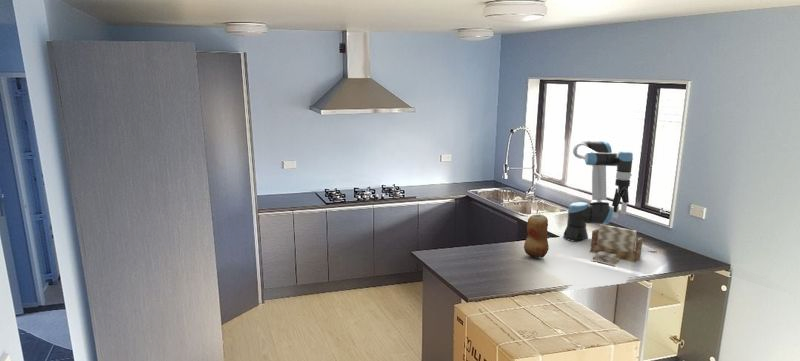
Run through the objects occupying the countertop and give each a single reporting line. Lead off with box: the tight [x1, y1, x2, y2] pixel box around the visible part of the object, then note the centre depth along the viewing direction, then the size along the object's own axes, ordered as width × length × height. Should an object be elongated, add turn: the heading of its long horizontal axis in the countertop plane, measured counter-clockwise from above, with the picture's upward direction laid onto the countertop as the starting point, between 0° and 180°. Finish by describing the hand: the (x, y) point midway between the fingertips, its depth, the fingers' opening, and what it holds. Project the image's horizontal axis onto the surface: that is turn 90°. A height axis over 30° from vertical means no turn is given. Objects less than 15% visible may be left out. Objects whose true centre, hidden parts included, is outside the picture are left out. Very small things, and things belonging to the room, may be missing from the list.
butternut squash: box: [523, 213, 550, 260], centre depth 287 cm, size 14×13×25 cm
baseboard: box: [635, 241, 658, 253], centre depth 319 cm, size 31×3×12 cm
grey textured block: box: [592, 255, 620, 268], centre depth 284 cm, size 12×7×3 cm, turn 48°
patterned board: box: [597, 224, 637, 254], centre depth 293 cm, size 20×2×16 cm, turn 48°
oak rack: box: [588, 228, 643, 263], centre depth 293 cm, size 26×12×14 cm, turn 48°
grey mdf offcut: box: [595, 251, 617, 262], centre depth 283 cm, size 9×6×2 cm, turn 52°
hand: (619, 215), depth 290 cm, fingers open, 13 cm apart
